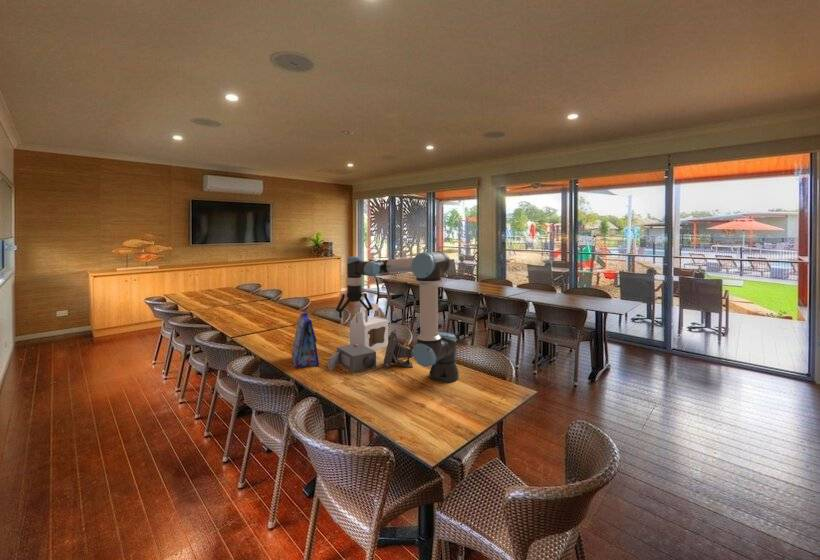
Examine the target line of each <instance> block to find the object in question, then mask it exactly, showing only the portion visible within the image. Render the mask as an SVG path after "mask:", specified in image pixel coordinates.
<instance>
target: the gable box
mask: <svg viewBox="0 0 820 560" xmlns="http://www.w3.org/2000/svg"><path fill="white" fill-rule="evenodd" d="M370 304H371V306H372V308H373V309H371V310H370V311H369V313H371V312H374V316H372V317H368V322H365V318H363V314H365V310H367V309H366V308H365V307H364V306H363V305H361V306H359V307H358V309H357V310H358V311H357V312H356V313H355V314H354V316H353V318H352V319H351V321H350V322H349V345H352V344H357V343H359V344H361V345H364V346H366V347H368V348H370V349H372V350H374V351H376V350H380V349H383V348H385V347H386V348H387V345H388V340H389V320H388V318H387V316H386V315H385V313H384V312H383V310H382V308H381V307H379V303H377V302H376V303H370ZM365 305H366V306H367V307H368V308H369V306H368V304H365ZM368 333H369V334H368Z"/></svg>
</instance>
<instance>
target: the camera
mask: <svg viewBox="0 0 820 560" xmlns="http://www.w3.org/2000/svg"><path fill="white" fill-rule="evenodd" d="M408 346H409V347H407V346H405V345H404V344H402V343H400V342H399V341H398V333H397V330H396V329H393V330H392V331H391V332H390V334H388V345H387V346H386V351H385V354H384V358H383V367H384V368H385V369H389V368H390V367H391V365H392V364H394V365H397V366H398V365H399V366H403V367H407V368H411V369H412V368H413V367H414V366H413V361H410V359H412V357H413V348H414V347H415V345H414V344H411V343H409V344H408ZM405 358H406V360H403V359H405Z"/></svg>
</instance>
